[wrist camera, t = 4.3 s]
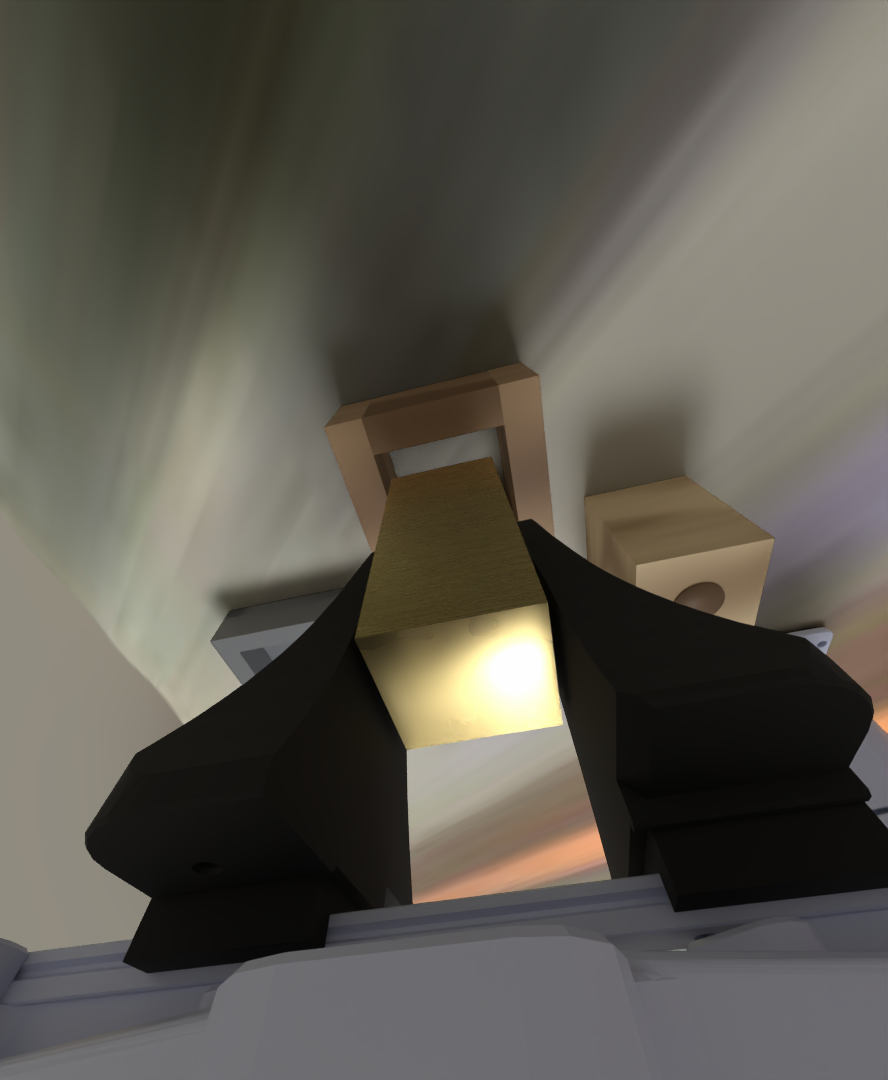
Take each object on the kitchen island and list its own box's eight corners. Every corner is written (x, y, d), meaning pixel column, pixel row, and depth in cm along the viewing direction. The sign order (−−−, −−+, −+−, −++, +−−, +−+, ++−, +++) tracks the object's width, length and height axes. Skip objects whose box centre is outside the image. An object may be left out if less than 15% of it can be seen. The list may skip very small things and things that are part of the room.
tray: (453, 698, 25) (455, 730, 23) (305, 723, 26) (295, 756, 24) (412, 573, 20) (410, 602, 18) (229, 611, 21) (210, 641, 19)
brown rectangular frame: (539, 523, 19) (556, 558, 16) (393, 553, 20) (387, 592, 17) (520, 362, 15) (539, 375, 13) (341, 406, 16) (323, 427, 13)
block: (677, 556, 20) (753, 636, 15) (588, 574, 21) (634, 656, 16) (684, 475, 18) (776, 539, 13) (583, 496, 18) (637, 566, 14)
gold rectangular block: (506, 542, 14) (563, 724, 8) (417, 561, 14) (407, 749, 8) (490, 456, 12) (547, 602, 6) (391, 479, 13) (354, 638, 7)
